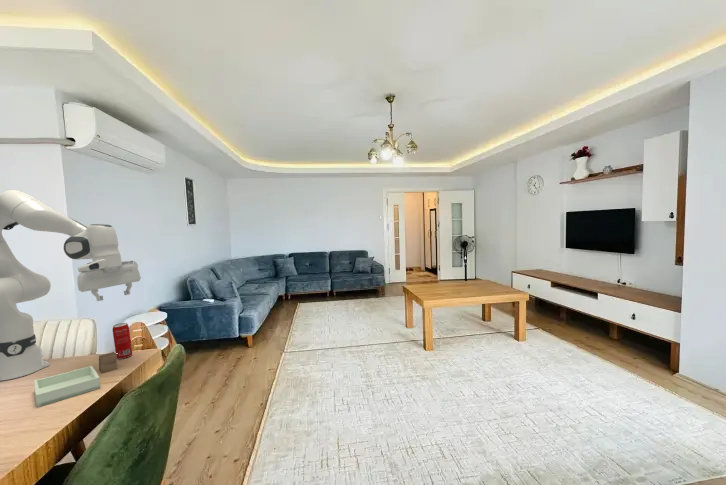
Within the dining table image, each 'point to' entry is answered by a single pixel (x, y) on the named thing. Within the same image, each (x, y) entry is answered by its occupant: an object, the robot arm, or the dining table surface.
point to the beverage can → (122, 340)
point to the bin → (65, 385)
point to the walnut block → (107, 362)
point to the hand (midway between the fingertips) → (114, 297)
